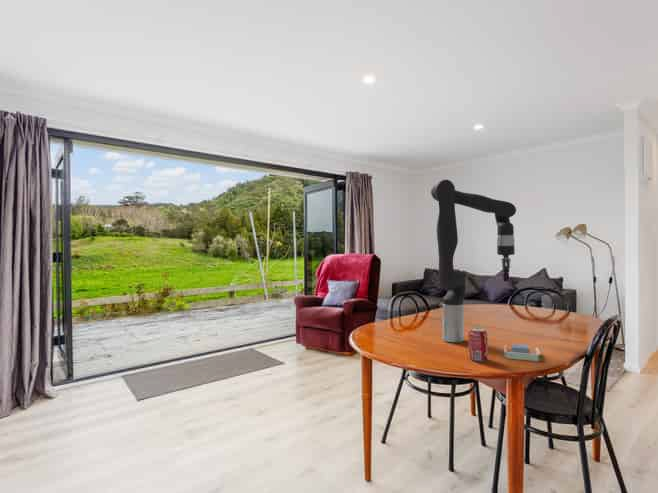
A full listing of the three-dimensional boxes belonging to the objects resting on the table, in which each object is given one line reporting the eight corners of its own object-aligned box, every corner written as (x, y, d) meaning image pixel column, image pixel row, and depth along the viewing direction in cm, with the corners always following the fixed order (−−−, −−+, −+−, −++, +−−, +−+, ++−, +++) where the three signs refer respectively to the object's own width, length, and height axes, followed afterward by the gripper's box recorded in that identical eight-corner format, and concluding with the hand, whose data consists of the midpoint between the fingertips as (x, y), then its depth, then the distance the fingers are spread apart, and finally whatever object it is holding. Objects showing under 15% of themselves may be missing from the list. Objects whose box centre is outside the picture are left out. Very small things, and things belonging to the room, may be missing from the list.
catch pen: (504, 358, 151) (504, 351, 151) (504, 350, 161) (504, 344, 161) (540, 361, 146) (540, 355, 145) (538, 353, 155) (537, 347, 155)
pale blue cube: (513, 357, 152) (512, 347, 152) (511, 353, 157) (511, 343, 157) (529, 358, 150) (529, 348, 150) (527, 354, 155) (527, 344, 155)
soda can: (483, 356, 153) (482, 326, 153) (491, 362, 146) (490, 331, 146) (465, 357, 153) (465, 327, 153) (473, 362, 146) (472, 331, 146)
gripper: (514, 245, 174) (515, 282, 175) (514, 244, 186) (514, 279, 187) (496, 245, 178) (497, 282, 178) (497, 244, 190) (497, 279, 190)
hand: (506, 281), depth 182 cm, fingers closed
